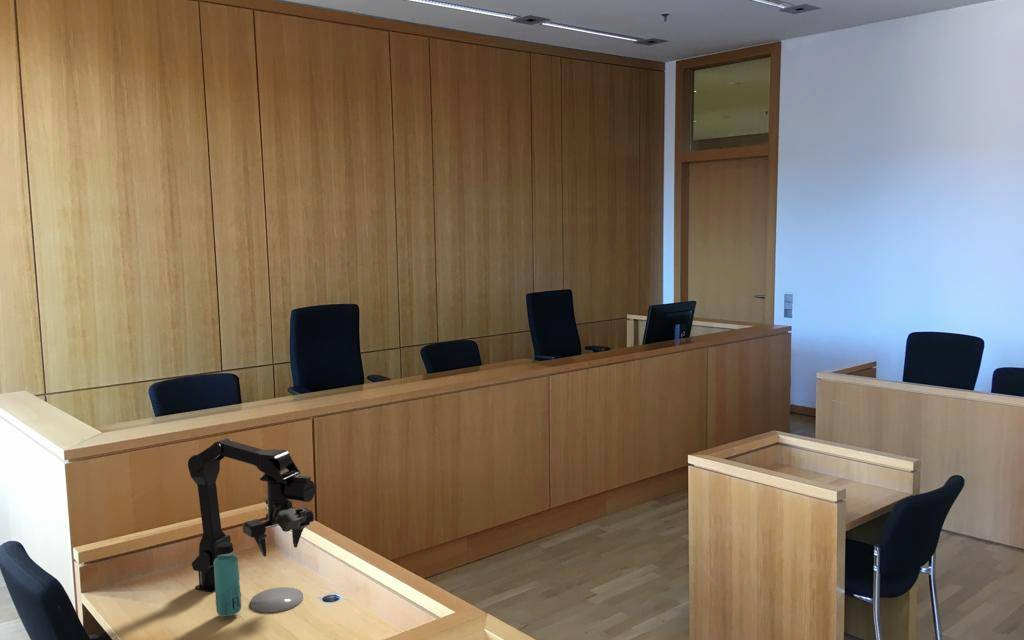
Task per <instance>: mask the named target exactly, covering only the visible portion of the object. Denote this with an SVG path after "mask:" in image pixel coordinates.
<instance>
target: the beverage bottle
mask: <svg viewBox="0 0 1024 640" xmlns="http://www.w3.org/2000/svg"><path fill="white" fill-rule="evenodd" d="M233 552H234V545H233V542H223V543H220V544H218V545H217V554H221V555H219V556H218V557H217V558H216V559H215V560H214V562H213V564H214V576H215V591H214V598H215V600H214V601H215V609H216V612H217V615H219V616H222V617H228V616H229V617H230V616H232V615H236V614H238V613H239V612H240V611H241V608H242V592H241V585H240V584H241V583H240V576H241V575H240V570H239V569H240V568H239V558H238V556H237V555H235V554H234V553H233Z"/></svg>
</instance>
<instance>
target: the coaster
mask: <svg viewBox="0 0 1024 640" xmlns="http://www.w3.org/2000/svg"><path fill="white" fill-rule="evenodd" d="M303 600H304V593H303V592H302V591H301V590H300V589H298V588H295V587H290V586H289V587H288V586H285V587H284V586H281V587H273V588H269V589H265V590H263V591H260V592H259V593H256V594H255V595H253V596H252V598H251V599H250V607H251V609H253V611H256V612H259V613H264V614H265V613H266V614H273V613H281V612H284V611H285V612H286V611H288V610H291V609H293V608H296V607H297V606H299V605H300V604H301V603H302V602H303Z"/></svg>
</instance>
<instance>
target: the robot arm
mask: <svg viewBox="0 0 1024 640" xmlns="http://www.w3.org/2000/svg"><path fill="white" fill-rule="evenodd" d="M225 458H228V459H232V460H235V461H239V462H242V463H245V464H248V465H253V466H255V467H256V468H257V469H258V471H260V472H261V473H264V474H263V475H262V476H261V477H260V478H259V480H260V481H262V482H266V486H267V487H266V490H267V492H266V493H267V494H266V495H267V499H265V504H266V505H267V513H266V514H265V518H266V519H267V520H265V521H261V520H259V519H257V518H256V519H253V520H249V521H248V520H247V521H245V522H244V523H243V525H242V532H243V533H244V534H245V535H247V536H248V537H250V538H253V539H254V540H255V543H256V545H257V546H258V548H259V550H260V552H261V554H262V556H263V557H264V558H265V557H267V545H266V539H267V536H268V535H267V534H265V533H266V532H267V529H270V528H273V527H278V526H279V527H280V529H281V530H282V532H285V533H287V532H290V531H291V536H292V545H293V547H294V548H297V547H298V545H299V542H300V538H301V536H302V533H303V531H304V529H305V528H306V527H308V526H310V525H311V522H315V513H314V512H313V511H312V510H311V509H309V508H307V507H305V506H303V507H299V508H295V509H294V508H293V501H296V502H297V501H298V502H305V503H309V502H311V501H312V500H314V497H315V495H316V485H315V483H314V481H313V480H311V476H309V475H301V471H300V470H299V468H298V466H297V465H296V463H295V462H294V460H293V458H292V457H291V454H290V452H289V451H288V450H285V449H280V448H279V449H275V448H274V449H273V448H271V449H262V448H259V447H255V446H251V445H247V444H245V443H240V442H238V441H233V440H232V439H229V438H223V439H220V440H218V441H215V442H214V443H212V445H210V446H209V447H207V448H206V449H204V450H203V451H201V452H199V453H196V454H193V455H192V456H191V457H189V459H188V460H187V467H188V468H187V469H188V471H189V475H190V478H191V479H192V481H194V483H195V484H196V486H197V493H198V500H199V507H200V508H199V510H200V517H201V526H202V536H201V539H200V542H199V545H198V548H199V549H198V556H196V558H195V559H194V560H193V561H192V562H191V567H192V569H193V570H192V571H196V572H198V585H196V586H194V589H196V590H199V591H204V592H210V593H213V592H215V576H214V564H213V562H214V560H215V559H216V558H217V557H218V556H219V555H221V554H217V545H218V544H220V543H223V542H231V540H232V539H231V535H230V534H226V533H225V532H224V531H223V530H222V523H221V513H220V507H219V506H220V505H219V498H218V490H217V479H218V476H219V473H220V471H221V467H220V466H221V461H222V460H224V459H225ZM285 471H286V472H285ZM281 473H282V474H281ZM231 543H232V542H231Z"/></svg>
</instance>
